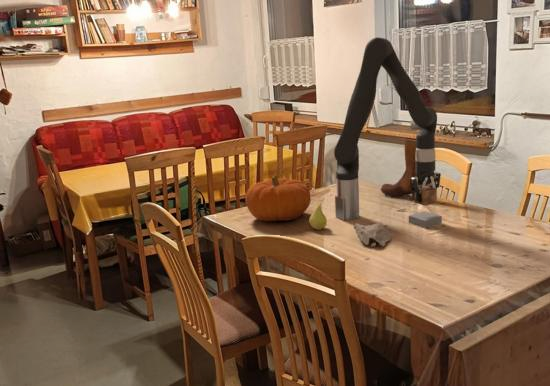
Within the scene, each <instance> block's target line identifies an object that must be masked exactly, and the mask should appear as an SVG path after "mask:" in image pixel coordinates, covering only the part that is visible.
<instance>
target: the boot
mask: <svg viewBox="0 0 550 386" xmlns="http://www.w3.org/2000/svg"><path fill="white" fill-rule="evenodd" d="M403 141H404V144H403V145H404V162H405V171H404V173H403V174H402V175H401V178H400V179H399V180H398V181H397V182H396V183H395V184H391V183H384V184H382V186H381V188H380V192H381V193H383V195H385V196H387V197H390V198H392V199H394V198H395V199H397V198H398V199H399V198H402V197H405V196H409V195H411V197H412V198H411V200H412V201H415V192H412V191H411V183H410V178H414V177H416V175H417V172H416V162H415V153H416V141H413V140H408V139H404V140H403ZM417 181H418V180H417ZM420 185H421V184H420ZM425 186H428V185H425Z"/></svg>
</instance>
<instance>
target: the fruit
mask: <svg viewBox="0 0 550 386" xmlns="http://www.w3.org/2000/svg"><path fill="white" fill-rule="evenodd" d="M324 199H325V198H322V201H321V202H320V203H319V204H317V205H316V207H315V209H314V211H313V212H312V214H311V215H310V216H309V219H308V220H309V221H308V222H309V225H310V226H311V227H312V229H314V230H319V231H320V230H322V229H324V228H325V227H326V225H327V222H328V221H327V217H326V215H325V214H324V212H323V211H322V203H323V202H324Z"/></svg>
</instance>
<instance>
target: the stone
mask: <svg viewBox="0 0 550 386" xmlns="http://www.w3.org/2000/svg"><path fill="white" fill-rule="evenodd" d="M353 229H354V230H355V233H356V235H357V238H359V239H360V241H361V242H363V244H365V245H366V246H367V245H369V242H370V239H373V240H374V241H376V242H377V243H379V246H382V247H384V246H385V245H386V243H388V242H389V241H391V231H390V230H388V229H387V228H386V227H385V226H384V224H382V223H380V222H377V223H374V224H373V223H372V224H369V225H361V224H359V223H355V224H354V225H353ZM376 242H373V243H371V245H370V248H373V247H376V244H377V243H376Z"/></svg>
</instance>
